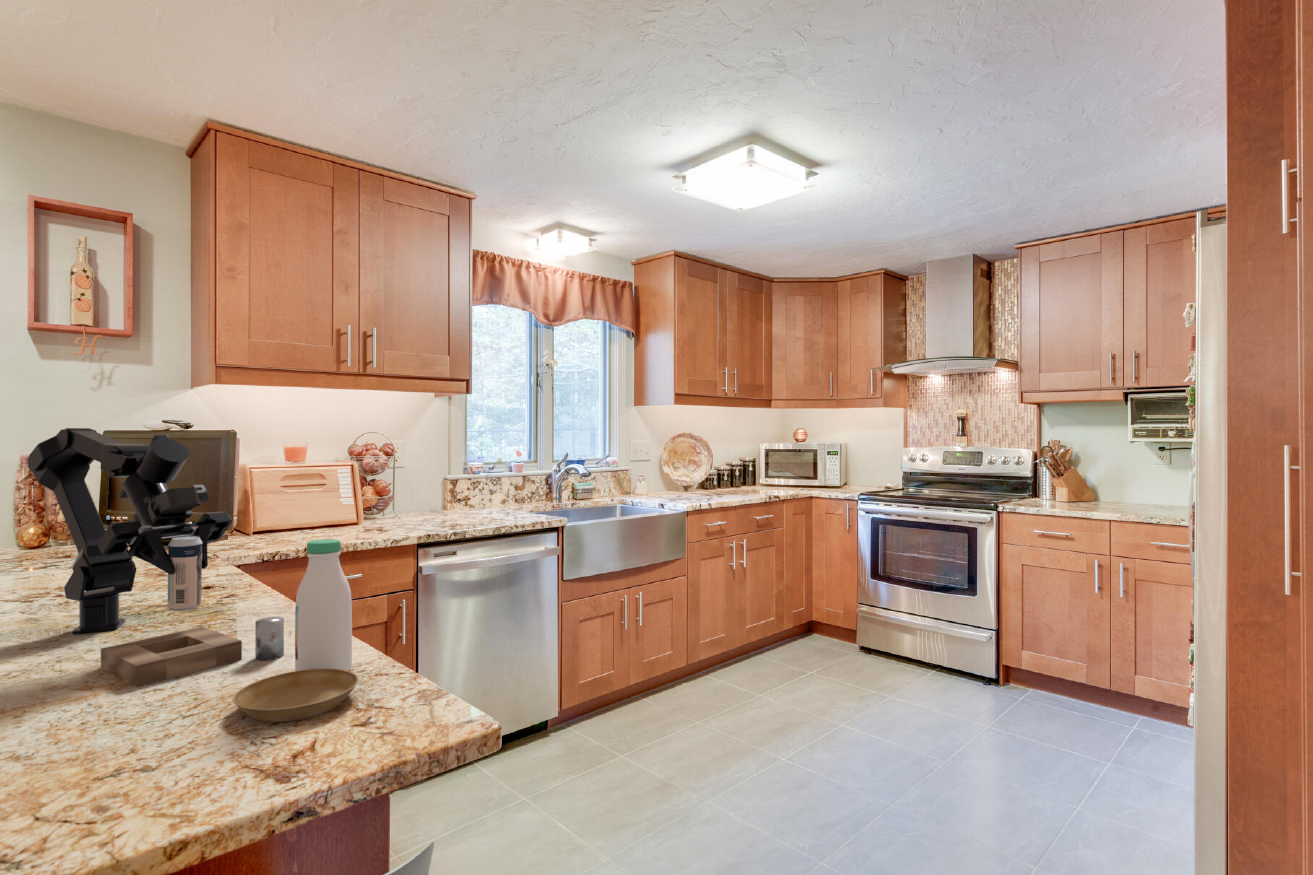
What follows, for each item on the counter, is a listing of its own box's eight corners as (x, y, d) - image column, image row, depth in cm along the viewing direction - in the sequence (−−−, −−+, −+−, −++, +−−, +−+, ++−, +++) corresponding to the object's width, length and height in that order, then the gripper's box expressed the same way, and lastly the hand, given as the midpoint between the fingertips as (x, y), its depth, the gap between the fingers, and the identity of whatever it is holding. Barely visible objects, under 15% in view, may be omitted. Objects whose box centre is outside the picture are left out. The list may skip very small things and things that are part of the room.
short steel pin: (256, 654, 108) (256, 618, 108) (284, 651, 110) (284, 615, 110) (254, 662, 105) (254, 624, 105) (283, 658, 107) (283, 621, 107)
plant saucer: (211, 712, 86) (211, 692, 86) (322, 678, 98) (322, 660, 98) (267, 741, 78) (267, 719, 78) (380, 700, 90) (380, 681, 90)
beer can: (207, 606, 114) (208, 537, 114) (178, 613, 109) (179, 541, 109) (190, 603, 116) (191, 534, 116) (160, 609, 111) (161, 538, 111)
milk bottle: (363, 666, 103) (363, 538, 103) (323, 684, 95) (323, 546, 95) (324, 661, 105) (324, 536, 105) (282, 677, 98) (282, 543, 98)
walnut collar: (100, 667, 102) (100, 648, 102) (202, 644, 114) (202, 626, 114) (136, 686, 95) (136, 665, 95) (241, 659, 106) (241, 640, 106)
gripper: (108, 472, 106) (147, 548, 101) (227, 467, 122) (265, 532, 118) (81, 518, 109) (118, 593, 104) (200, 507, 126) (236, 571, 121)
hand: (189, 569), depth 112 cm, fingers closed on beer can, 5 cm apart
